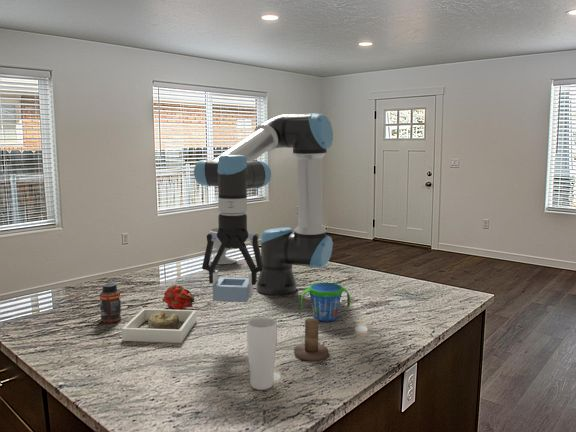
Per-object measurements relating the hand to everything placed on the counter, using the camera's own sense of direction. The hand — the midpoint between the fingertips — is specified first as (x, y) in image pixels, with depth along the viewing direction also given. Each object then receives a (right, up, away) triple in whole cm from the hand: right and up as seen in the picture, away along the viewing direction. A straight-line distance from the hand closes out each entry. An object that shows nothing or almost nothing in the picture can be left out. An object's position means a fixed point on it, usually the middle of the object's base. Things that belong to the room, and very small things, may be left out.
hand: (233, 295), depth 133 cm
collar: (0, 0, 0) cm, 0 cm away
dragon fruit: (-21, -9, +29) cm, 37 cm away
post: (+21, -15, -5) cm, 26 cm away
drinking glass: (+9, -17, -22) cm, 29 cm away
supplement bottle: (-40, -11, +18) cm, 45 cm away
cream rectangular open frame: (-22, -12, +10) cm, 27 cm away
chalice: (-15, 0, +93) cm, 94 cm away
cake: (-22, -12, +13) cm, 28 cm away
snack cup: (+27, -11, +22) cm, 36 cm away
